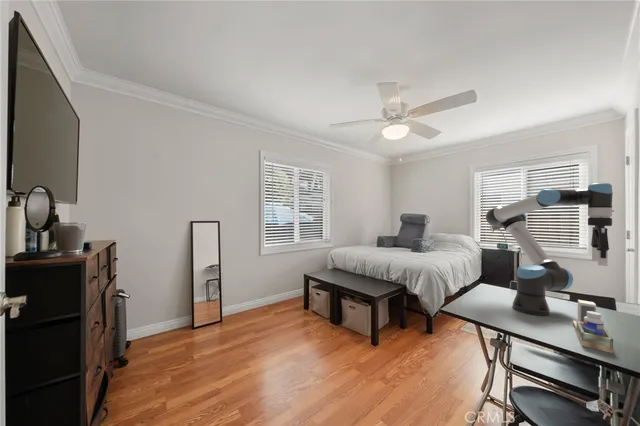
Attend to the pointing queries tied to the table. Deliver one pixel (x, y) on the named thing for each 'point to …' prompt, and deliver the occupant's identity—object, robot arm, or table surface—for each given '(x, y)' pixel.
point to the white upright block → (585, 309)
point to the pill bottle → (593, 323)
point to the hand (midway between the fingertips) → (599, 263)
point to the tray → (594, 338)
